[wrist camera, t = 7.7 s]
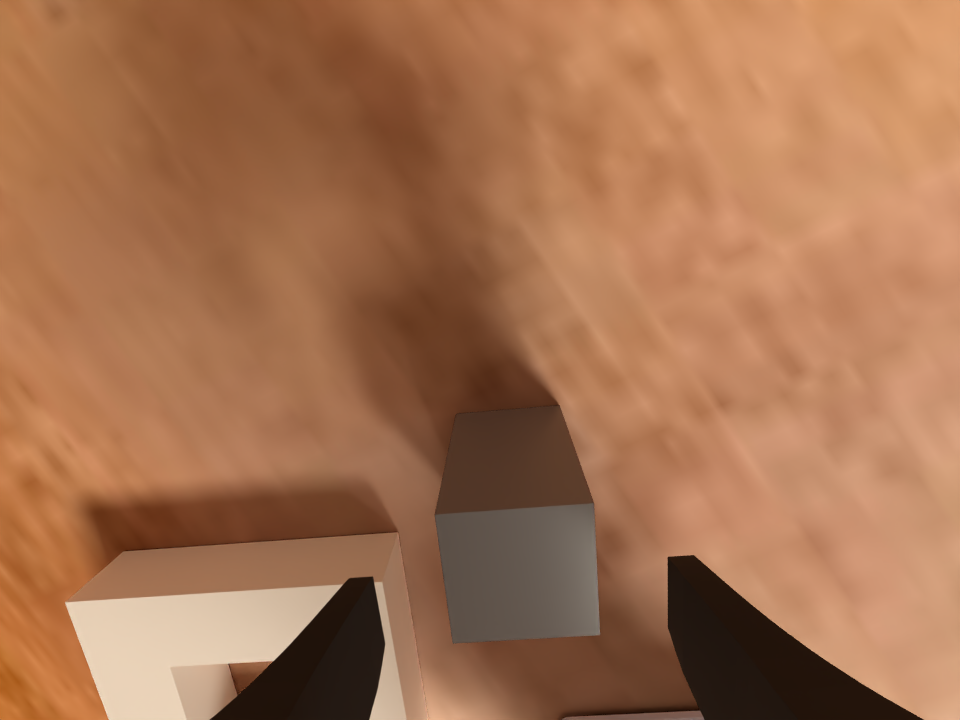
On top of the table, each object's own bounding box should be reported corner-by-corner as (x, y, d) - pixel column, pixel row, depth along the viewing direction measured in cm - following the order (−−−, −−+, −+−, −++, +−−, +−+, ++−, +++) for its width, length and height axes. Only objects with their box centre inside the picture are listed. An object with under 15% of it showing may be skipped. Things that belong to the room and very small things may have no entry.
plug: (559, 405, 19) (593, 502, 12) (565, 497, 20) (600, 635, 13) (456, 413, 19) (434, 514, 13) (467, 505, 20) (452, 643, 14)
